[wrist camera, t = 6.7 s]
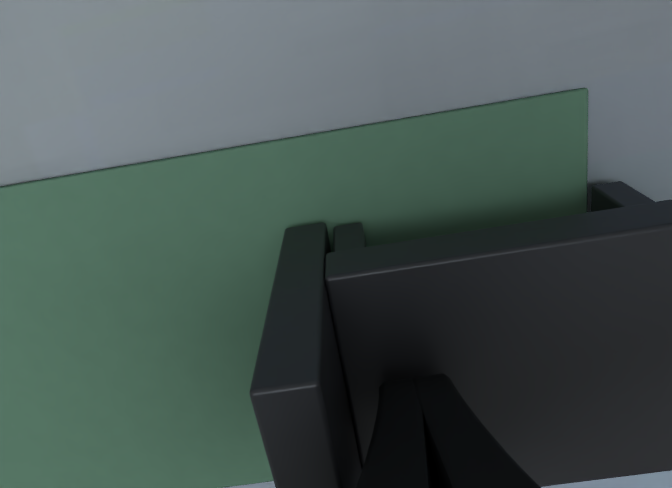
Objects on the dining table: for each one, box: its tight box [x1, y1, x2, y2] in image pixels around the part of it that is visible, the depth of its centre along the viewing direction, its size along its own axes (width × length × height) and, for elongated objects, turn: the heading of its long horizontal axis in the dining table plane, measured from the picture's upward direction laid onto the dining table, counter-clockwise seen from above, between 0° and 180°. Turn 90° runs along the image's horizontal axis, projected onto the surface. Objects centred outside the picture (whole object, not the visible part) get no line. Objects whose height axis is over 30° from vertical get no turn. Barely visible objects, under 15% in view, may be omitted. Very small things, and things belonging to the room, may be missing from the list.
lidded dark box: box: [249, 181, 672, 488], centre depth 11 cm, size 8×6×6 cm
